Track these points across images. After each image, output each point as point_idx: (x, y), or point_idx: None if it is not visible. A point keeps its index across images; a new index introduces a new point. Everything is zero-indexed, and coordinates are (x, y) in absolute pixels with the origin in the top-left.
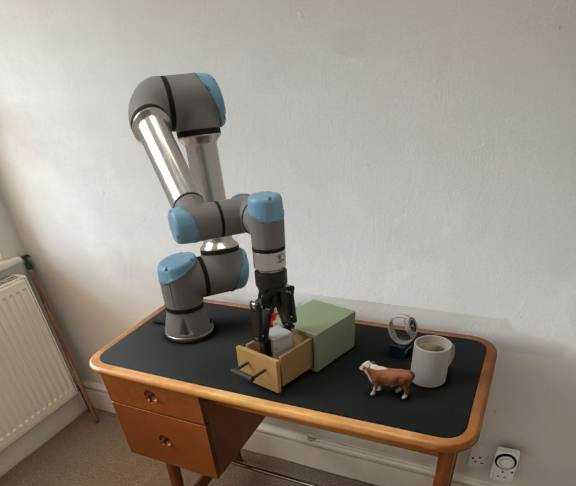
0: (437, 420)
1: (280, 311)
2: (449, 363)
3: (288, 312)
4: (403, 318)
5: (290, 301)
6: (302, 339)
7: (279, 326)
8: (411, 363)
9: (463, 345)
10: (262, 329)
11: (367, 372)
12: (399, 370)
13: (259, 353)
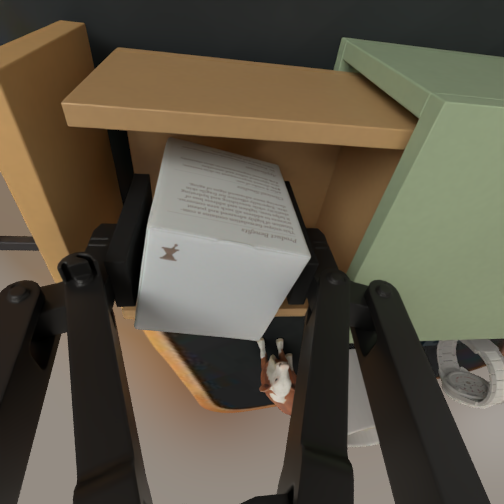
0: (245, 394)
1: (297, 409)
2: None
3: (376, 356)
4: (479, 404)
5: (393, 478)
6: (349, 249)
7: (291, 275)
8: (354, 377)
9: (473, 357)
10: (41, 401)
11: (267, 378)
12: (287, 410)
13: (61, 255)
